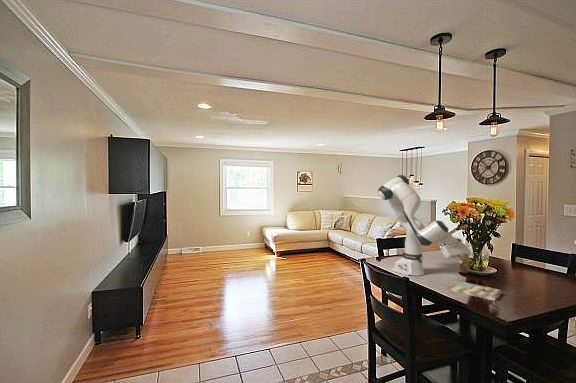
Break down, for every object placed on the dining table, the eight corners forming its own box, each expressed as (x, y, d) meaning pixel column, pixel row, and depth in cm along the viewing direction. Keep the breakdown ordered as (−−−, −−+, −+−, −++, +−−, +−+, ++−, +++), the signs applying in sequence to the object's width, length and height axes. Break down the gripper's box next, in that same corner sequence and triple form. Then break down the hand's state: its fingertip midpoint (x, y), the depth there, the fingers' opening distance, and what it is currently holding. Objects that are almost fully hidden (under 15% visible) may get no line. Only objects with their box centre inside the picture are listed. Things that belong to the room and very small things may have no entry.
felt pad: (454, 285, 165) (454, 284, 165) (459, 282, 171) (459, 281, 171) (470, 289, 159) (470, 288, 159) (474, 285, 165) (474, 284, 165)
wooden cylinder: (458, 271, 165) (458, 254, 165) (461, 270, 168) (461, 253, 168) (467, 273, 162) (467, 256, 162) (469, 271, 165) (469, 254, 165)
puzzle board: (449, 290, 165) (449, 285, 165) (457, 284, 174) (457, 280, 174) (494, 300, 148) (494, 296, 148) (500, 294, 158) (500, 289, 158)
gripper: (441, 241, 166) (457, 261, 158) (462, 238, 175) (479, 257, 167) (434, 247, 170) (450, 267, 162) (455, 244, 179) (471, 263, 171)
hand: (465, 262), depth 164 cm, fingers closed on wooden cylinder, 4 cm apart
